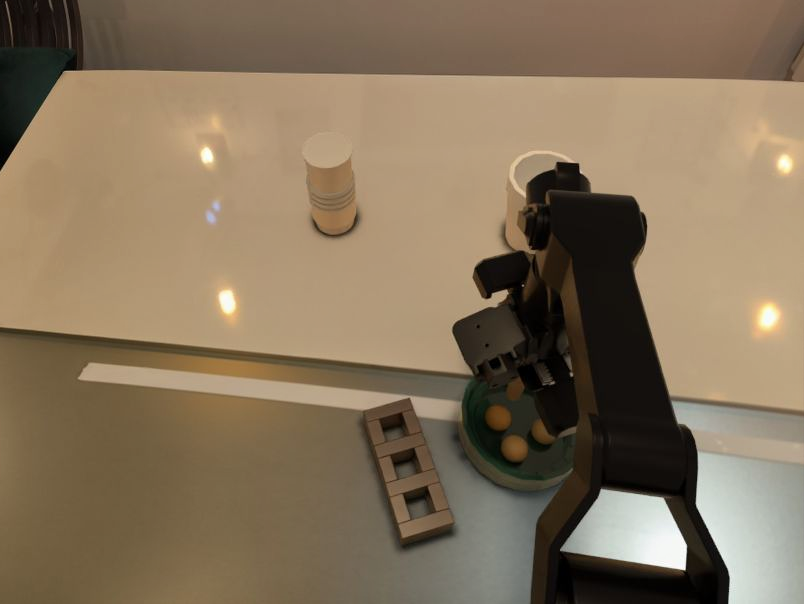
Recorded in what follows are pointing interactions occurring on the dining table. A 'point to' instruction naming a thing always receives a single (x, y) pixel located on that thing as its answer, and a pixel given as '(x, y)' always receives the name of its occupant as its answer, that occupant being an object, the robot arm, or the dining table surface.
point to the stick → (514, 390)
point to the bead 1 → (498, 417)
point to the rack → (412, 485)
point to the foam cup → (516, 190)
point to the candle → (330, 181)
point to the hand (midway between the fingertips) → (522, 372)
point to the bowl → (485, 443)
